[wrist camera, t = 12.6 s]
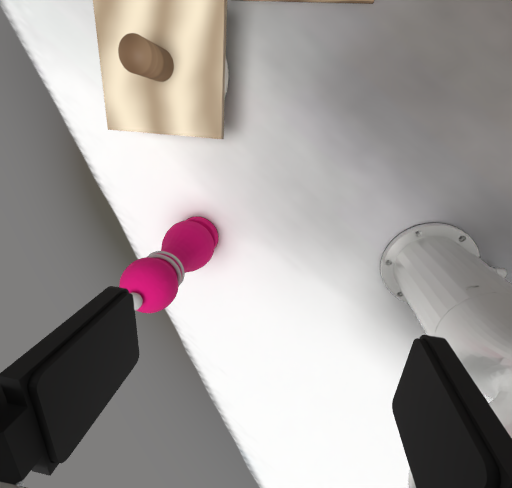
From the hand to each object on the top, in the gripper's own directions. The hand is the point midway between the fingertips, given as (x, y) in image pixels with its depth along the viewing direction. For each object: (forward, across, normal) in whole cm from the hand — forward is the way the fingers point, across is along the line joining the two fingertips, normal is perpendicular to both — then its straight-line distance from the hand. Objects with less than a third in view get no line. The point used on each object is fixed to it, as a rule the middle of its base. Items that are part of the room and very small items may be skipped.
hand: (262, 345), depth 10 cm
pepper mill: (+34, +14, +10) cm, 38 cm away
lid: (+27, +16, -12) cm, 34 cm away
